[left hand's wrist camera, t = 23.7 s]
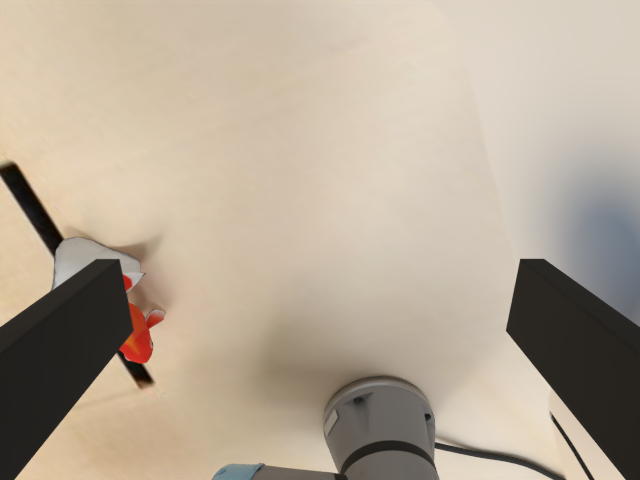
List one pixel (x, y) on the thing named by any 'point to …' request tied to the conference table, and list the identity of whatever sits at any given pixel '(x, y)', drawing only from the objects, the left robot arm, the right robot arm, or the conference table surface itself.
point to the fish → (84, 251)
